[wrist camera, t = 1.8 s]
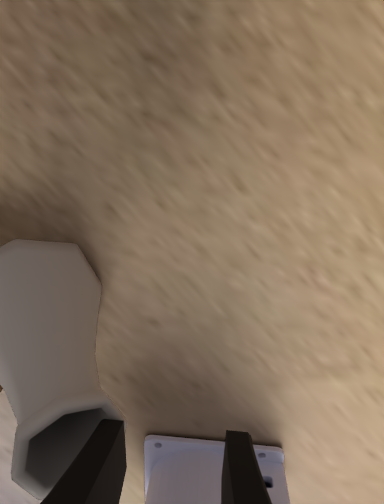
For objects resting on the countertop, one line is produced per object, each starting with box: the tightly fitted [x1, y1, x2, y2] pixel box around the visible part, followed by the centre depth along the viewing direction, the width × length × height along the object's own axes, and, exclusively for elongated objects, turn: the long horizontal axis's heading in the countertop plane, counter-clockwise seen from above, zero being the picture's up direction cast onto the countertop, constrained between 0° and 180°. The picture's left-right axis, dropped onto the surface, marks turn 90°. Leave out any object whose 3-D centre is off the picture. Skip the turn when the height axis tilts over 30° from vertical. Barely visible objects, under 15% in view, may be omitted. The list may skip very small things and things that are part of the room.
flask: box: [0, 239, 127, 500], centre depth 14 cm, size 7×7×10 cm
